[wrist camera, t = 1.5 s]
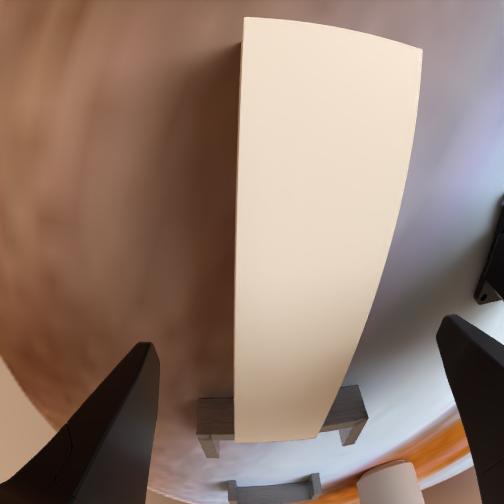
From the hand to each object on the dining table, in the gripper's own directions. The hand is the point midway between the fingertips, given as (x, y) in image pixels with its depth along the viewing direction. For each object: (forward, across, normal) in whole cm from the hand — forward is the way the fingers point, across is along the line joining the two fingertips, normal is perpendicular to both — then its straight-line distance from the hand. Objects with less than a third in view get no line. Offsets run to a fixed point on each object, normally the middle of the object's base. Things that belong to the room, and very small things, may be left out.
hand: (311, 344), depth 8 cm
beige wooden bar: (+5, 0, 0) cm, 5 cm away
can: (+5, -14, +32) cm, 35 cm away
